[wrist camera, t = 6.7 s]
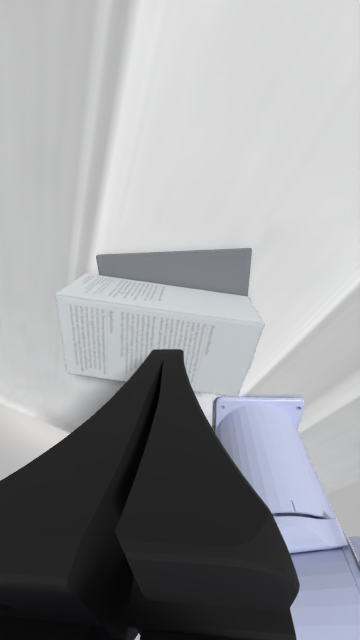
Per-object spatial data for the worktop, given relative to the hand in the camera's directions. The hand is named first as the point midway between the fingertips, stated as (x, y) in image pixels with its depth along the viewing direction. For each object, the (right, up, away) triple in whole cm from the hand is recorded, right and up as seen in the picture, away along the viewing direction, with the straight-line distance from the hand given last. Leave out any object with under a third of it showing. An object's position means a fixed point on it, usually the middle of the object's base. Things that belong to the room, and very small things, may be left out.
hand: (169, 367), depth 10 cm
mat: (0, +4, +7) cm, 8 cm away
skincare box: (-7, +2, +5) cm, 9 cm away
